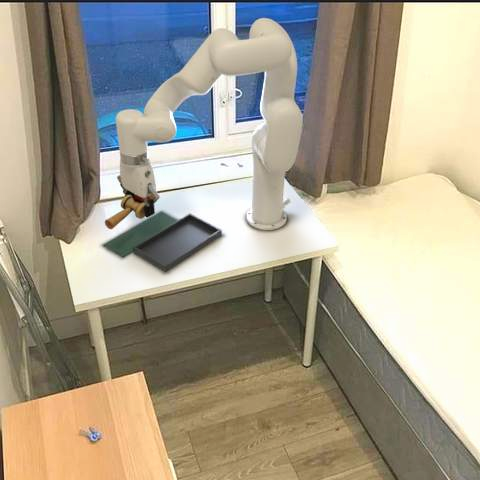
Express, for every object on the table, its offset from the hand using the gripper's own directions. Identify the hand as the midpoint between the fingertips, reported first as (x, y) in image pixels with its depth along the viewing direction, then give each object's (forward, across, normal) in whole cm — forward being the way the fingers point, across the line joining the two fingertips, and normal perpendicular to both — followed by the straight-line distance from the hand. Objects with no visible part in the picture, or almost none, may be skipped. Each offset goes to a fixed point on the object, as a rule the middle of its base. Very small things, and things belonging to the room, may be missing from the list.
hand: (140, 209), depth 174 cm
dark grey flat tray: (+9, -11, -4) cm, 15 cm away
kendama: (+1, 0, +4) cm, 4 cm away
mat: (+9, 0, 0) cm, 9 cm away
